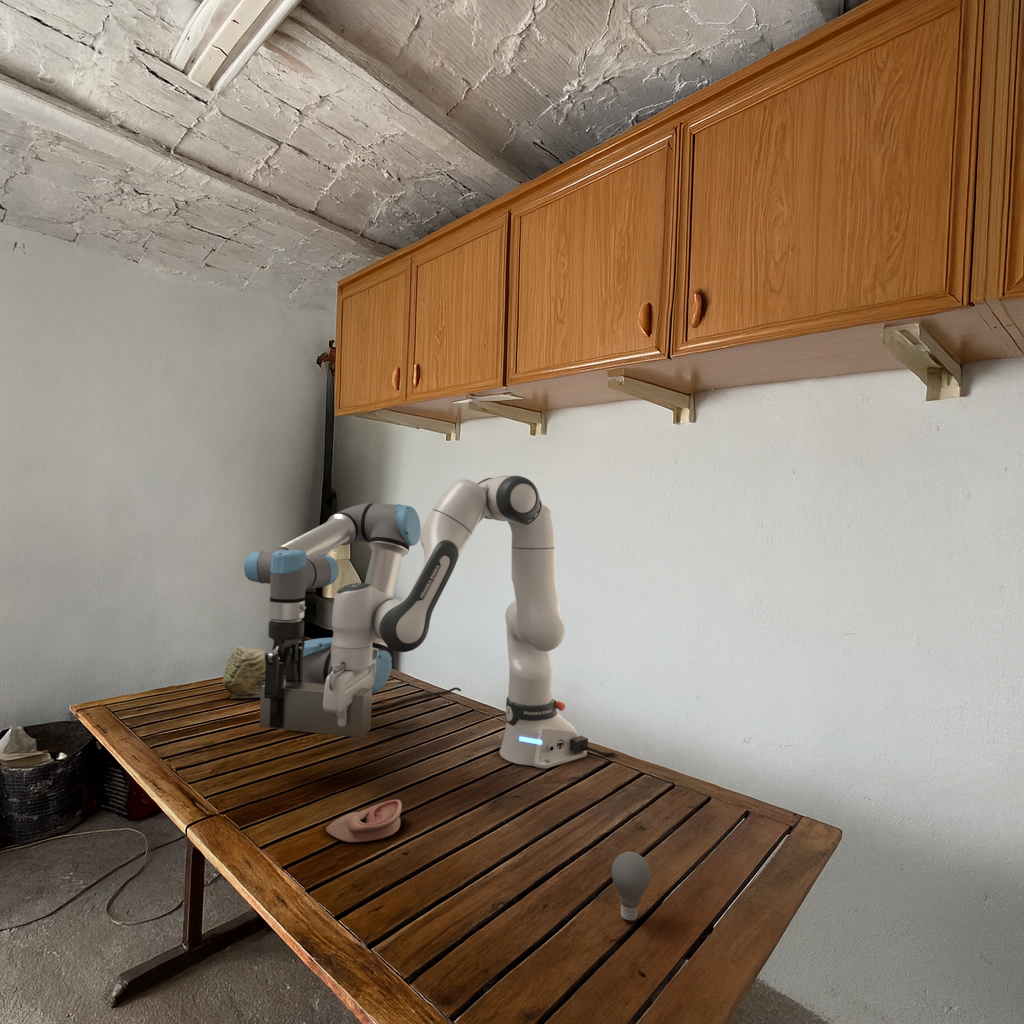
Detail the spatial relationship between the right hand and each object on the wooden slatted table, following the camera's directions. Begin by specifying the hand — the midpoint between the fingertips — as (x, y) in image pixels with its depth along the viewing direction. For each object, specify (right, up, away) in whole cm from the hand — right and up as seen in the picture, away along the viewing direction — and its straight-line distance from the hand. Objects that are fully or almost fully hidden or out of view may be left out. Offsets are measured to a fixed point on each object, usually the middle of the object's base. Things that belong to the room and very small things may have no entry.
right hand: (349, 719), depth 140 cm
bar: (-8, -2, +1) cm, 8 cm away
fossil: (-45, -11, +58) cm, 74 cm away
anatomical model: (+8, -15, -18) cm, 25 cm away
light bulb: (+54, -18, -41) cm, 70 cm away
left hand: (-15, -1, +2) cm, 16 cm away
